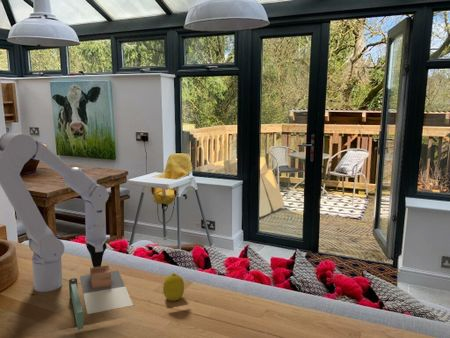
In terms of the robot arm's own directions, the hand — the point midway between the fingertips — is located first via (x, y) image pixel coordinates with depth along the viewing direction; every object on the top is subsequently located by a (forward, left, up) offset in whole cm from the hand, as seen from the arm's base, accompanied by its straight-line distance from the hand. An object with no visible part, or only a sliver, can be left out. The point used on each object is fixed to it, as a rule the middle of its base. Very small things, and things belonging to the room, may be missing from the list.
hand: (96, 266), depth 115 cm
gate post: (+15, -7, -2) cm, 17 cm away
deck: (+13, +1, -2) cm, 13 cm away
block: (+9, 0, -2) cm, 9 cm away
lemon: (+25, +17, -3) cm, 30 cm away
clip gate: (+24, -7, -1) cm, 25 cm away
